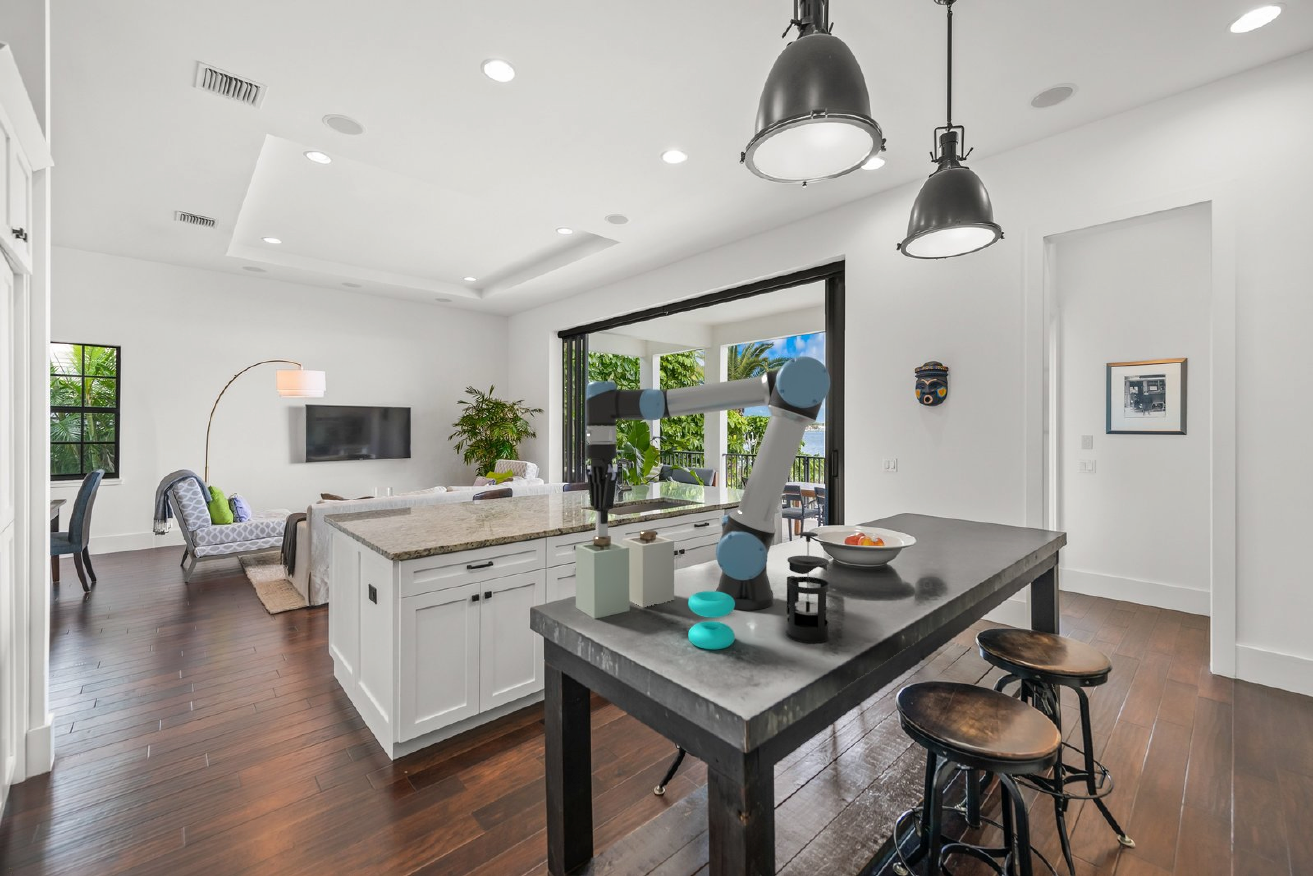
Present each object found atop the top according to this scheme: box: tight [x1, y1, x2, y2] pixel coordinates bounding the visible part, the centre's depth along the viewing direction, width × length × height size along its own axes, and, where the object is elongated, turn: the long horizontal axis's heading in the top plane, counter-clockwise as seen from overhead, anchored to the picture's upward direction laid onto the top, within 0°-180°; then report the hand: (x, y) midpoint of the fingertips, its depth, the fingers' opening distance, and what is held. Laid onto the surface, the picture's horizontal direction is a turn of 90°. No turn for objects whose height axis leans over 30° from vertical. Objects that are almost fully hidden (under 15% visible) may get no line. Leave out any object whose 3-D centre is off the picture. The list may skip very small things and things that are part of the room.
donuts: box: [687, 590, 736, 650], centre depth 119 cm, size 10×10×10 cm
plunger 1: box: [592, 535, 612, 551], centre depth 140 cm, size 7×7×13 cm
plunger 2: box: [639, 529, 657, 544], centre depth 148 cm, size 7×7×13 cm
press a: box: [621, 535, 675, 608], centre depth 148 cm, size 10×10×16 cm
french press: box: [785, 531, 831, 645], centre depth 123 cm, size 12×9×23 cm
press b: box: [574, 541, 631, 620], centre depth 140 cm, size 10×10×16 cm
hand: (601, 536), depth 140 cm, fingers closed
